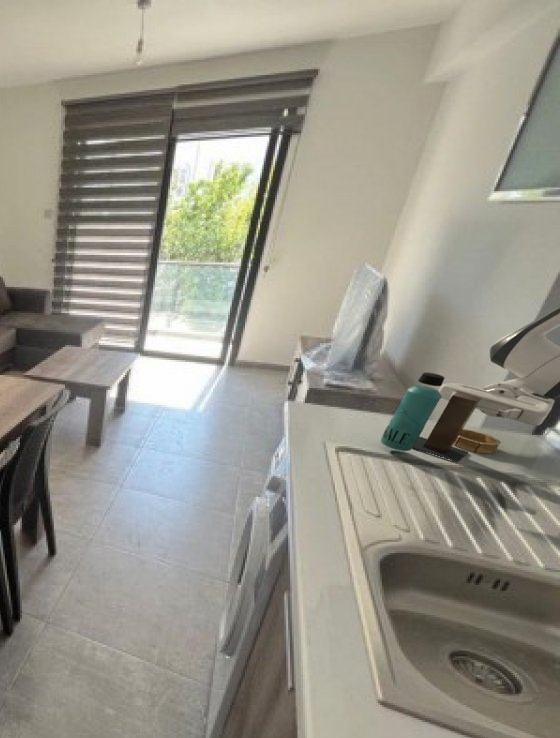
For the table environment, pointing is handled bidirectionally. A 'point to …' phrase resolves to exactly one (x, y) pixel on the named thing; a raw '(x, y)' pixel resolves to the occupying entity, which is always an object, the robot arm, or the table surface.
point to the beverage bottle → (413, 413)
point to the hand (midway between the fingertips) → (476, 406)
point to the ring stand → (476, 442)
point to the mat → (452, 454)
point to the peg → (451, 422)
